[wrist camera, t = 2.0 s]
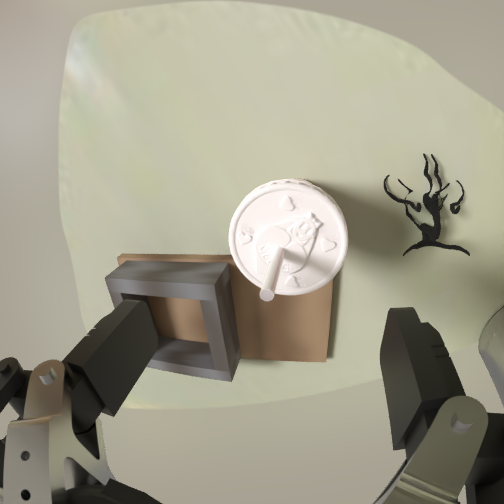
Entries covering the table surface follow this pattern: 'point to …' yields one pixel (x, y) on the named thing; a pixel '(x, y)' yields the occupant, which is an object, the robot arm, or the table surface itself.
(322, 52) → the table surface
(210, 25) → the table surface
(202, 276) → the board
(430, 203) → the creature
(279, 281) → the smoothie
